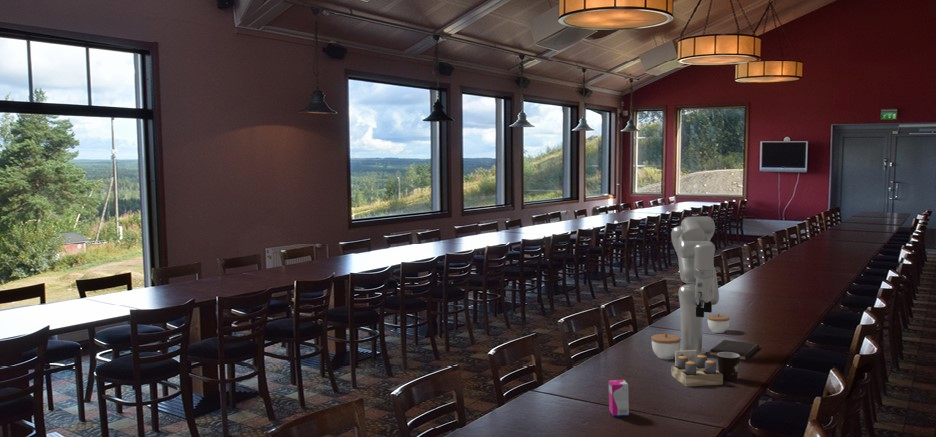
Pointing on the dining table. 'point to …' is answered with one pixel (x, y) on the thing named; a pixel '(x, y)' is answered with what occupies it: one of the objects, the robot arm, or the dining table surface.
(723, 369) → the coffee mug
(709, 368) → the button
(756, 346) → the hardcover book
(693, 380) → the button board
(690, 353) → the card
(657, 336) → the lidded bowl
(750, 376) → the dining table surface
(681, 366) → the button
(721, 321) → the lidded jar
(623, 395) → the supplement box
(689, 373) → the button
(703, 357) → the button
